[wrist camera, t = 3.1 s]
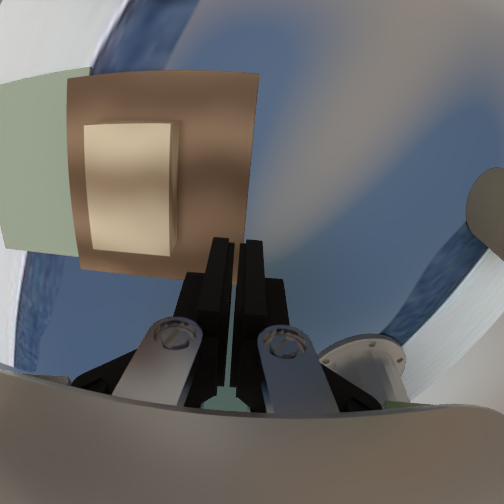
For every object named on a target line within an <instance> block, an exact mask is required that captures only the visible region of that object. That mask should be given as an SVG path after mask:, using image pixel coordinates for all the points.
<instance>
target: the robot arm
mask: <svg viewBox="0 0 504 504" xmlns="http://www.w3.org/2000/svg"><path fill="white" fill-rule="evenodd" d="M234 249H235V243H232V242H229V238H222V237H213V240H212V244H211V249H210V253H209V257H208V262H207V266H206V270H205V273H198V272H187V273H186V276H185V279H184V282H183V286H182V289H181V292H180V296H179V299H178V302H177V305H176V309H175V312H174V315H173V317H167V318H164V319H161V320H159V321H157V322H155V323H154V324H153V325H152V326H151V327H150V328H149V330H148V332H147V334H146V335H145V337H144V339H143V340H142V342H141V344H140V346H139V347H138V349H136V350H134V351H132V352H129V353H127V354H125V355H123V356H121V357H118V358H116V359H114V360H112V361H110V362H108V363H105V364H103V365H101V366H99V367H97V368H94V369H92V370H90V371H88V372H86V373H83V374H82V375H80V376H78V377H77V378H76V379H75V380H70V378H69V376H51V375H33V374H20V373H16V372H12V371H6V370H1V369H0V504H504V415H503V414H502V413H500V412H498V411H495V410H493V409H490V408H486V407H481V406H476V405H465V404H439V405H430V404H418V403H410V400H409V398H408V395H407V392H406V390H405V387H404V385H403V382H402V380H401V377H400V376H401V375H402V373H403V371H404V368H405V364H406V357H405V354H404V351H403V349H402V347H401V345H400V344H399V343H398V342H397V341H396V340H395V339H393V338H391V337H389V336H386V335H381V334H362V335H356V336H352V337H349V338H346V339H343V340H341V341H338V342H336V343H335V344H333V345H331V346H329V347H328V348H326V349H325V350H323V351H322V352H321V353H320V354H319V355H318V356H317V354H316V352H315V349H314V346H313V344H312V342H311V340H310V338H309V337H308V335H307V334H305V333H304V332H303V331H302V330H299V329H298V328H296V327H292V326H290V325H289V318H288V310H287V303H286V296H285V289H284V283H283V280H282V279H274V278H273V279H272V278H265V275H264V259H263V243H262V241H258V240H246V244H244V243H240V249H239V261H238V273H237V286H236V300H235V312H234V326H233V327H234V328H233V342H232V357H231V358H232V359H231V374H230V387H236V397H238V398H239V399H240V400H242V401H243V402H244V403H245V404H246V405H248V406H247V412H236V411H222V410H210V409H203V408H204V402H205V401H206V400H208V399H210V398H211V397H213V396H216V395H217V386H223V387H224V381H225V368H226V354H227V342H228V329H229V318H230V305H231V291H232V276H233V263H234Z"/></svg>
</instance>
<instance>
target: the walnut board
mask: <svg viewBox="0 0 504 504" xmlns="http://www.w3.org/2000/svg"><path fill="white" fill-rule="evenodd" d="M258 83H259V74H257V73H245V72H229V71H207V70H206V71H205V70H157V71H135V72H120V73H109V74H99V75H90V76H82V77H74V78H67V106H66V124H67V156H68V172H69V185H70V195H71V205H72V214H73V222H74V229H75V236H76V242H77V249H78V255H79V260H80V266H81V269H87V270H95V271H104V272H112V273H121V274H130V275H139V276H148V277H158V278H168V279H177V280H184V279H185V276H186V273H187V272H198V273H205V270H206V266H207V262H208V257H209V253H210V249H211V244H212V240H213V237H222V238H229V242H232V243H235V249H234V263H233V276H232V285H237V273H238V261H239V249H240V243H243V242H244V230H245V220H246V209H247V197H248V186H249V176H250V165H251V155H252V144H253V133H254V124H255V114H256V103H257V93H258ZM113 120H180V125H179V148H178V183H177V242H176V244H175V246H174V249H173V251H172V253H171V255H170V256H160V255H149V254H139V253H128V252H117V251H107V250H97V249H93V245H92V237H91V229H90V221H89V211H88V201H87V189H86V175H85V155H84V125H87V124H91V123H95V122H98V121H113Z"/></svg>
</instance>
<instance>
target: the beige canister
mask: <svg viewBox="0 0 504 504" xmlns="http://www.w3.org/2000/svg"><path fill="white" fill-rule="evenodd" d="M466 220H467V224H468V227H469V229H470V231H471V232H472V233H473V235H475V236H476V237H477V238H478V239H479V240H480V241H482V242H483V243H484V244H485V245H486V246H487V247H489V248H490V249H491V250H492V251H493V252H494V253H495V254H496V255H498V256H499V257H500V258H501V259H502V260H503V261H504V169H503V168H499V167H496V168H491V169H489V170H487V171H485V172H484V173H483V174H482V175H481V176H480V177H479V178H478V179H477V180H476V182H475V183H474V185H473V186H472V189H471V191H470V193H469V196H468V200H467V204H466Z"/></svg>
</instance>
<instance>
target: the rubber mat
mask: <svg viewBox="0 0 504 504" xmlns="http://www.w3.org/2000/svg"><path fill="white" fill-rule="evenodd" d="M91 74H92V67H87V68H80V69H73V70H67V71H61V72H55V73H50V74H45V75H40V76H35V77H30V78H26V79H22V80H18V81H13V82H10V83H6V84H2V85H0V225H1V230H2V234H3V239H4V243H5V247H6V248H8V249H16V250H24V251H32V252H41V253H49V254H58V255H67V256H76V257H79V255H78V249H77V242H76V236H75V229H74V222H73V214H72V205H71V195H70V185H69V172H68V156H67V124H66V106H67V78H74V77H82V76H90V75H91Z"/></svg>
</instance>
